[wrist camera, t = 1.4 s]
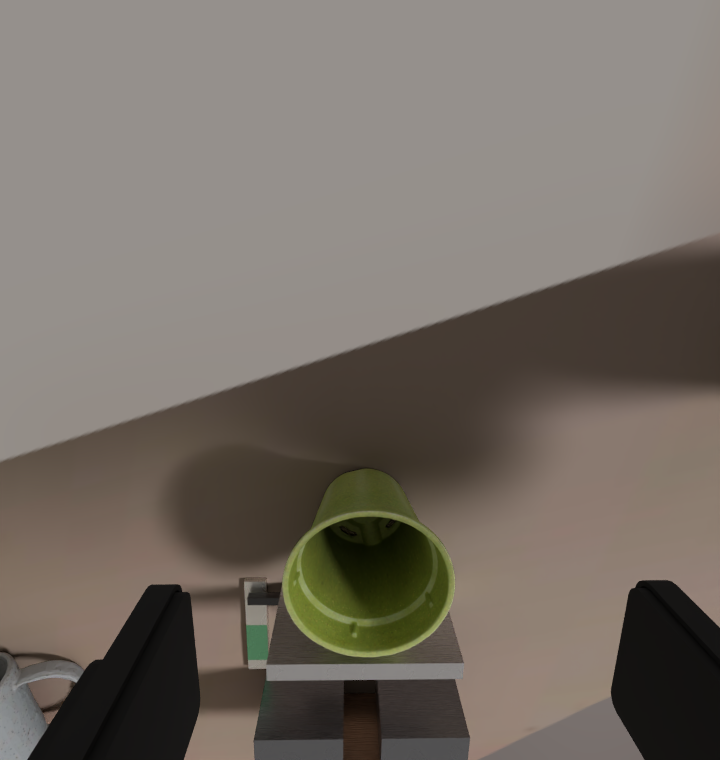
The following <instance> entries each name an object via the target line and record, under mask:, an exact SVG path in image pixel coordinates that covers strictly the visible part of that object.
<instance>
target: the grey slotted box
mask: <svg viewBox="0 0 720 760" xmlns="http://www.w3.org/2000/svg"><path fill="white" fill-rule="evenodd" d="M244 592H245V611H246V632H247V651H248V668H249V669H266V663H267V658H268V653H269V630H268V605H248V603H247V597H248V594H249V593H264V592H267V578H245V580H244ZM469 741H470V736H469V732H468V728H467V725H466V721H465V717H464V713H463V709H462V705H461V701H460V697H459V693H458V690H457V686H456V682H455V679H408V680H376V690H375V693H364V694H344V680H297V681H267V675H266V680H265V685H264V690H263V696H262V701H261V706H260V711H259V716H258V721H257V726H256V731H255V737H254V756H255V760H468V751H469Z"/></svg>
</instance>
